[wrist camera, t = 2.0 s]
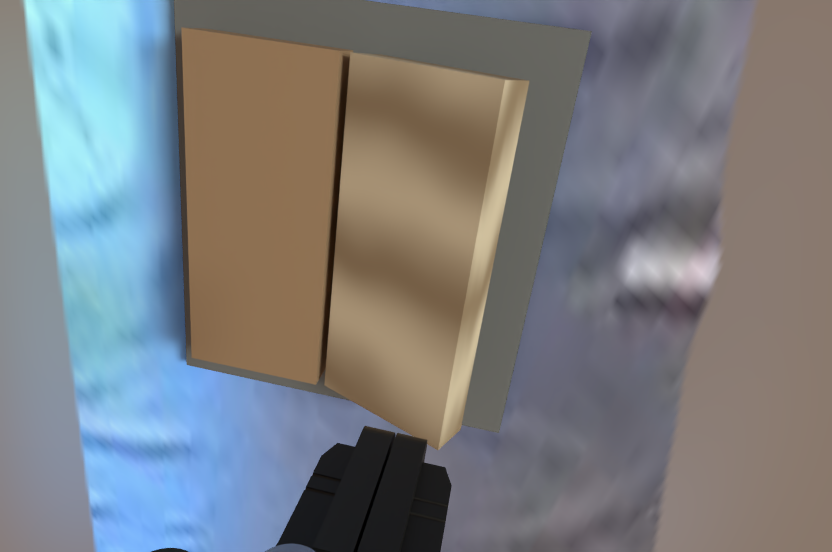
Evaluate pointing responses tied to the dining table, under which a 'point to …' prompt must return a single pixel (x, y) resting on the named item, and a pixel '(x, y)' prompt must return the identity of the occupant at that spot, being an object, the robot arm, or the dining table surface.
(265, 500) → the dining table surface
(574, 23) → the dining table surface
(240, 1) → the floor section
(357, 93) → the oak plank
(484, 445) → the dining table surface
